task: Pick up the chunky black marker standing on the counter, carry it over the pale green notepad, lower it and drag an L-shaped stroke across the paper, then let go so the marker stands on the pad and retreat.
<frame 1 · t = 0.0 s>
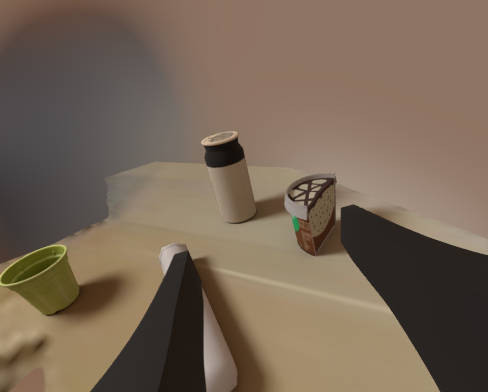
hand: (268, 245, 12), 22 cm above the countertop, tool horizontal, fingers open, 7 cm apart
plant pot: (62, 300, 45), on the countertop
travel mug: (239, 214, 58), on the countertop
tube: (196, 317, 36), on the countertop
food container: (309, 236, 46), on the countertop
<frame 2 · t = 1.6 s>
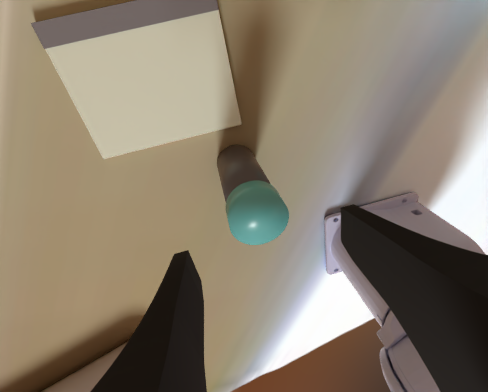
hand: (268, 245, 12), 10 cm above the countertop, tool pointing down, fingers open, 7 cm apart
marker: (236, 163, 20), on the countertop
notepad: (152, 80, 16), on the countertop
tube: (73, 378, 31), on the countertop
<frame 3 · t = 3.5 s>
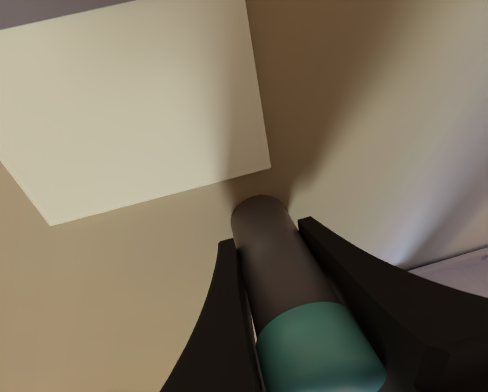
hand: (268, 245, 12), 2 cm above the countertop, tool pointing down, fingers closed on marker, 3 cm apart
marker: (258, 220, 13), on the countertop, touching gripper
notepad: (126, 102, 10), on the countertop
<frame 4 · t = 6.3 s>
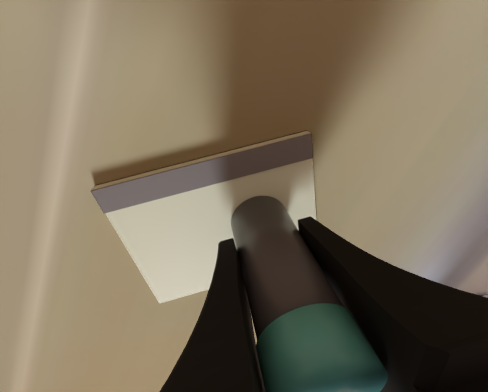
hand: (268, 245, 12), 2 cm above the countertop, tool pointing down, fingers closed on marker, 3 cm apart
marker: (259, 220, 13), resting on notepad, touching gripper
notepad: (224, 225, 14), on the countertop
when the fingers open (2 cm above the countertop, at t = 8.7 s): marker stays where it is, resting on notepad.
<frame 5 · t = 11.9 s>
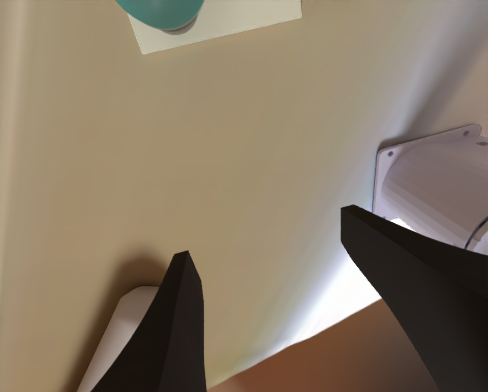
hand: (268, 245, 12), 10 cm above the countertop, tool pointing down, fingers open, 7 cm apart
marker: (171, 3, 14), resting on notepad
tube: (115, 350, 30), on the countertop
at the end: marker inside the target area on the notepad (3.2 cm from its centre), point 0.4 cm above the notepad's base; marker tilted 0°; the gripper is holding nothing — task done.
